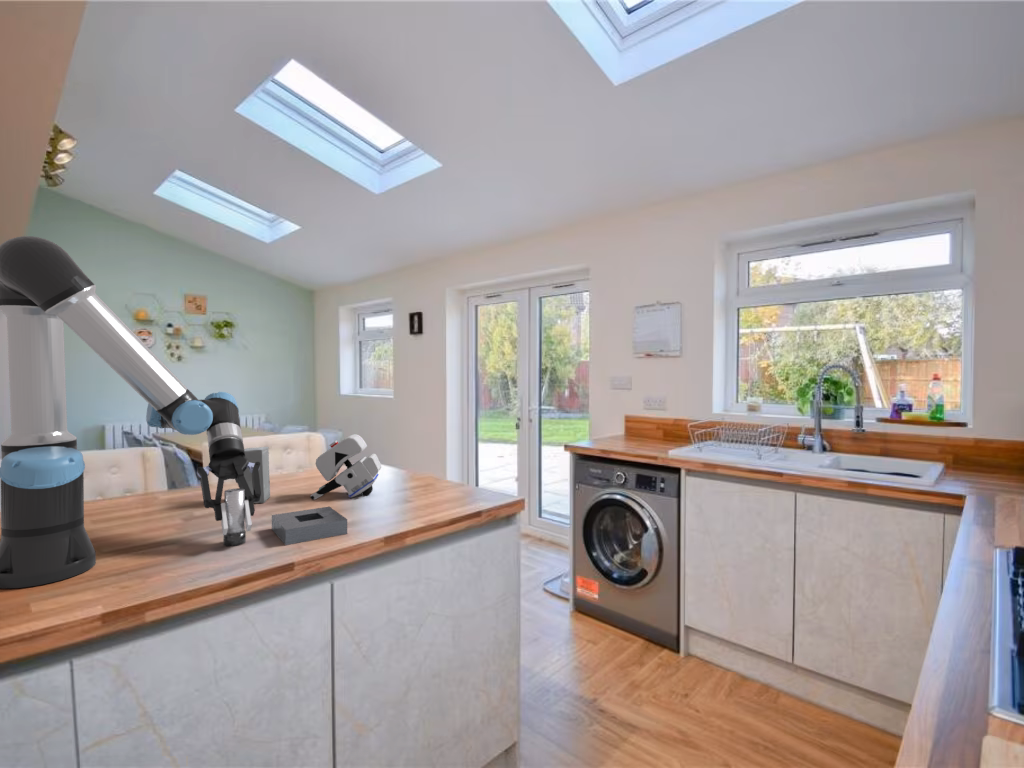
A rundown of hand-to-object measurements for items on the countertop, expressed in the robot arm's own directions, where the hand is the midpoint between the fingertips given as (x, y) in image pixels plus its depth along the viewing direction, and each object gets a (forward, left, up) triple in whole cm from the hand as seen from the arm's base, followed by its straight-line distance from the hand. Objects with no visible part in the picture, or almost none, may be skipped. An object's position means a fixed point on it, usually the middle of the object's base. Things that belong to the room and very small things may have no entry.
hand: (237, 529), depth 111 cm
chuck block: (+16, +3, -4) cm, 17 cm away
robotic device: (+36, +33, -4) cm, 49 cm away
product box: (+11, +42, -4) cm, 43 cm away
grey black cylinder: (0, +4, -4) cm, 6 cm away
